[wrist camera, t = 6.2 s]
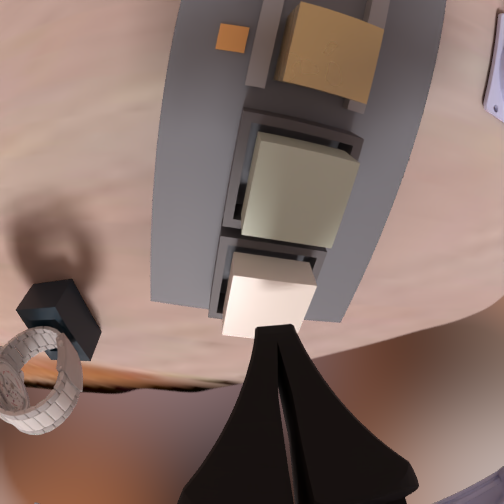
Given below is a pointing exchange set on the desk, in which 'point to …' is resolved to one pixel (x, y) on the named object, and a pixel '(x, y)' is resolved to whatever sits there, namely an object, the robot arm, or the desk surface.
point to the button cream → (266, 293)
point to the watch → (56, 347)
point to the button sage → (296, 190)
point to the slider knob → (329, 52)
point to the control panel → (283, 124)
